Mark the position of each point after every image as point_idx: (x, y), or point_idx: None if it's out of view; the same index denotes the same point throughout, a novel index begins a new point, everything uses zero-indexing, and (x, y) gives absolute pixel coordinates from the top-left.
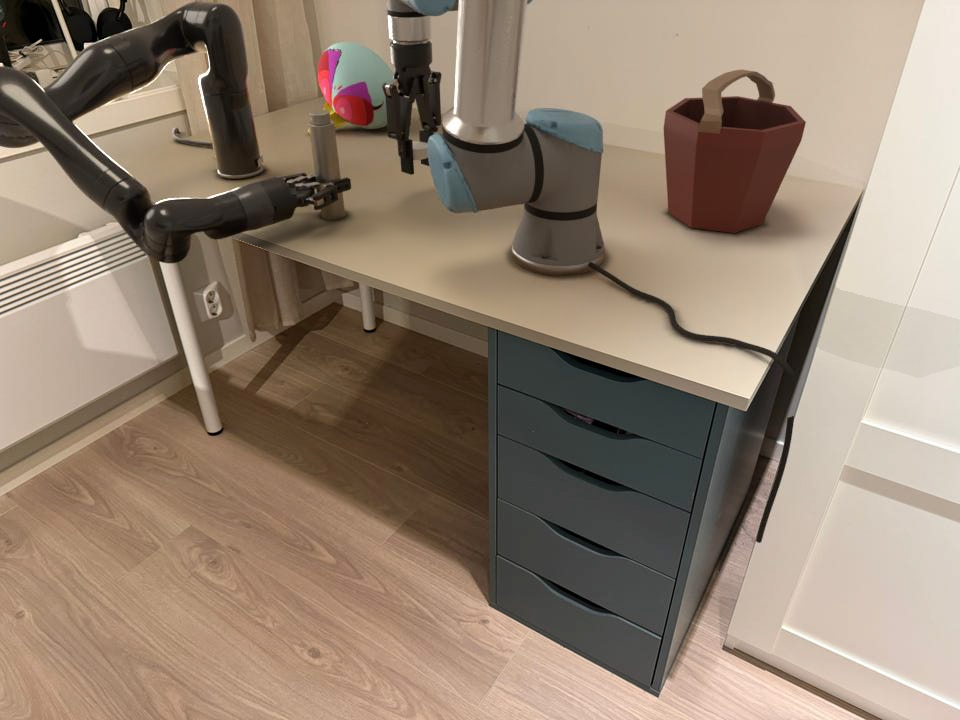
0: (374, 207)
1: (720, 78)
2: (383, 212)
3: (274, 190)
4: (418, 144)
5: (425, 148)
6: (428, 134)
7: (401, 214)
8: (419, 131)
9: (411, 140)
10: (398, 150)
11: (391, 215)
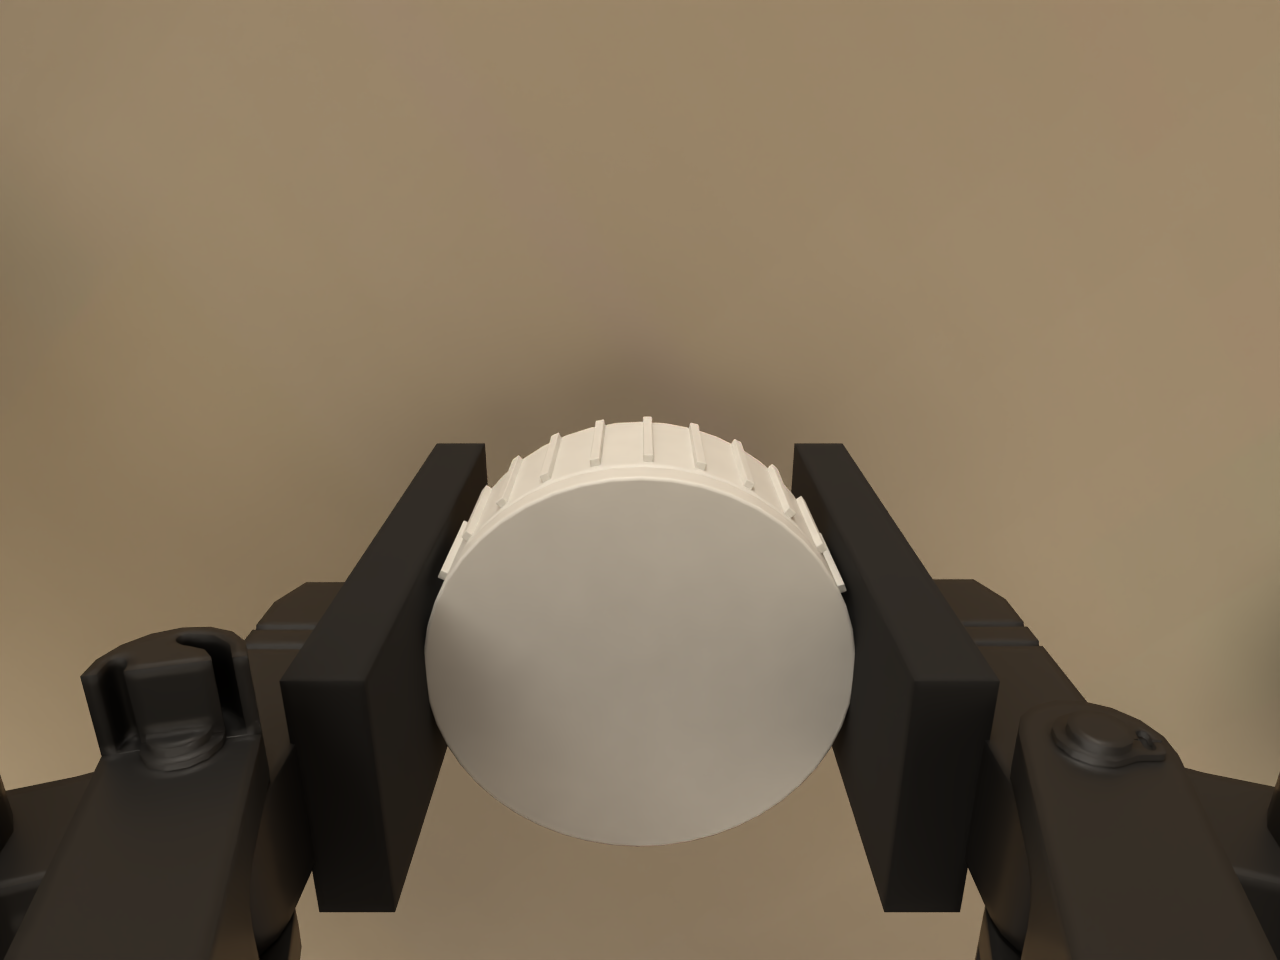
0: (163, 308)
1: None
2: (157, 452)
3: None
4: (707, 672)
5: (636, 845)
6: (879, 877)
7: (244, 588)
8: (916, 681)
9: (378, 905)
10: (250, 644)
11: (171, 544)
